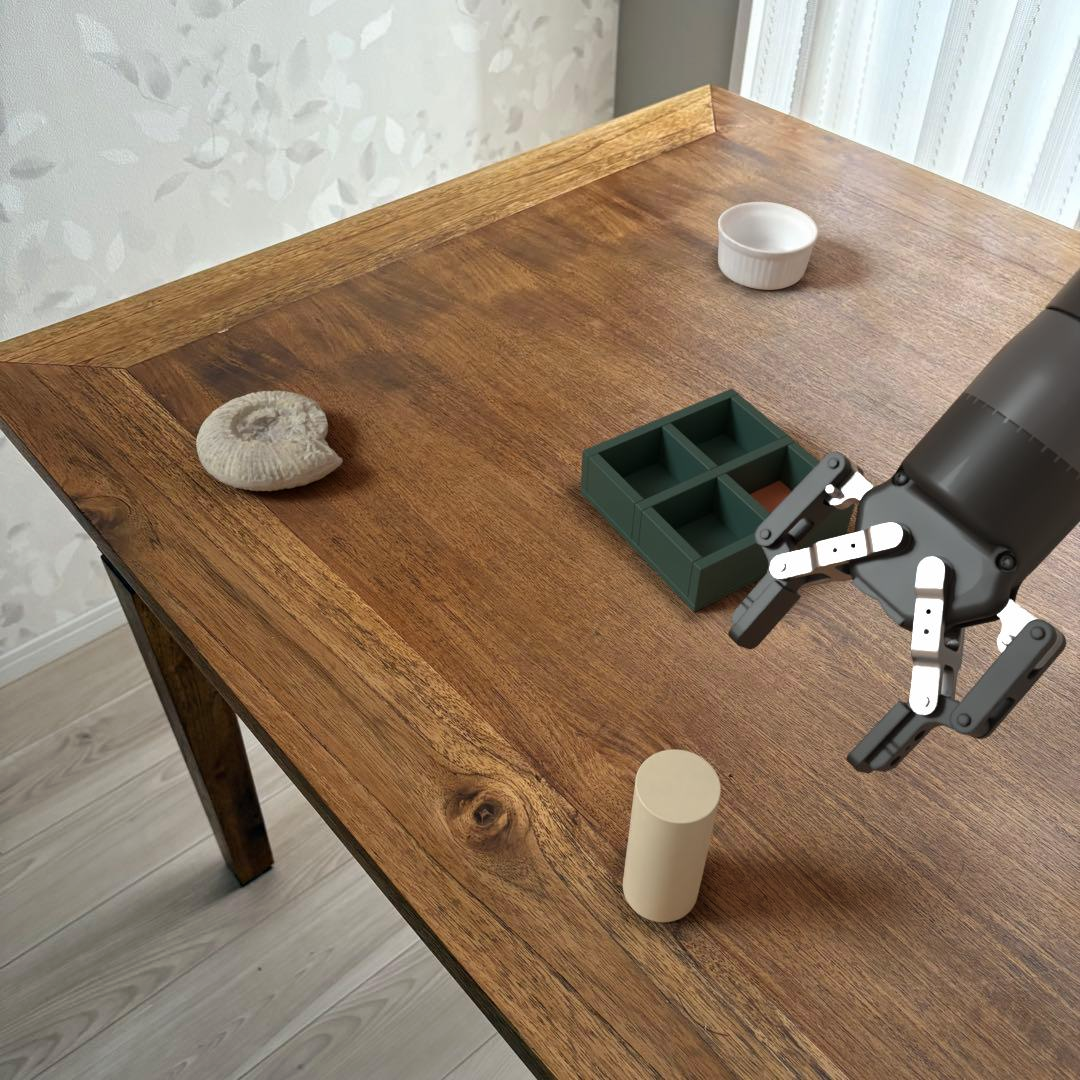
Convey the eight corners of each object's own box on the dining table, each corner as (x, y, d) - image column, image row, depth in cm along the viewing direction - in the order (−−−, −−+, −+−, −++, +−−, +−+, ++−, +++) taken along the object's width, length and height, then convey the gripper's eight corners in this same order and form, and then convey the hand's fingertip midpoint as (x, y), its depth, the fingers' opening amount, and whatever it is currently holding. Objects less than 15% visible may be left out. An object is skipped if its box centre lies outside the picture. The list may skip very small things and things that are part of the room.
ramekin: (762, 233, 106) (769, 191, 103) (830, 274, 101) (840, 232, 98) (692, 261, 102) (697, 219, 99) (759, 306, 97) (766, 263, 94)
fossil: (365, 420, 80) (252, 499, 75) (374, 456, 82) (266, 534, 78) (272, 352, 85) (162, 423, 81) (284, 388, 88) (178, 458, 84)
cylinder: (713, 898, 59) (738, 797, 51) (652, 936, 57) (669, 838, 50) (668, 840, 61) (686, 735, 54) (607, 875, 59) (618, 773, 52)
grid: (846, 535, 77) (858, 492, 75) (693, 612, 72) (700, 570, 70) (725, 430, 85) (732, 387, 82) (580, 493, 80) (582, 450, 77)
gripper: (891, 328, 51) (667, 593, 55) (1159, 513, 42) (871, 811, 46) (943, 383, 57) (737, 619, 60) (1187, 555, 48) (930, 817, 52)
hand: (795, 702), depth 53 cm, fingers open, 8 cm apart
